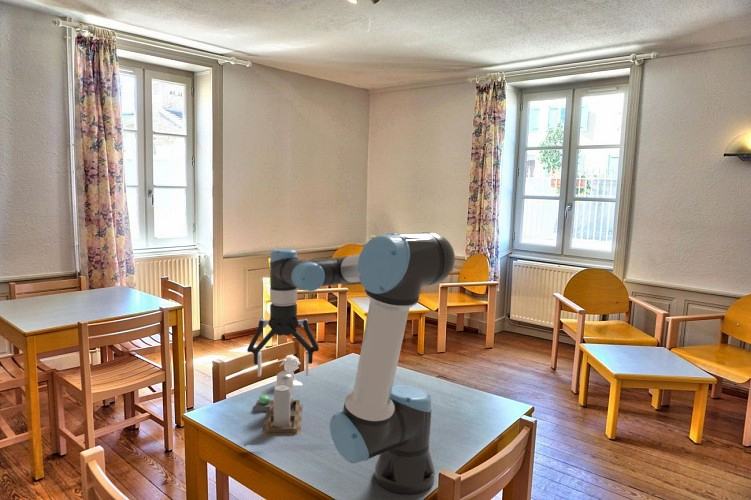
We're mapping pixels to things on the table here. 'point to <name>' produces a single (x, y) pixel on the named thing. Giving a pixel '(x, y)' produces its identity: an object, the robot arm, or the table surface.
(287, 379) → the billet
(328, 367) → the table surface
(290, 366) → the figurine
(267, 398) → the button
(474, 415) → the table surface
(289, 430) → the pallet
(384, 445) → the robot arm
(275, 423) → the beverage can
